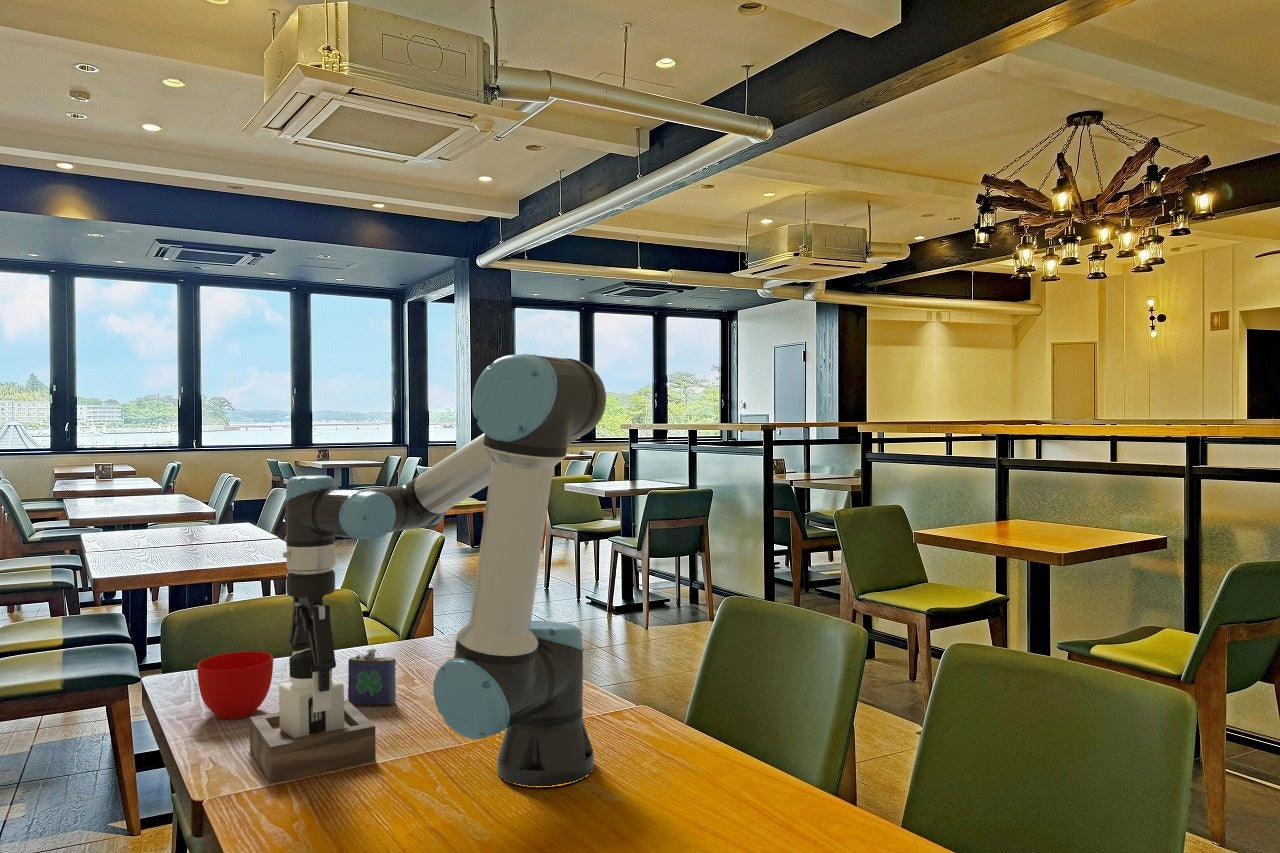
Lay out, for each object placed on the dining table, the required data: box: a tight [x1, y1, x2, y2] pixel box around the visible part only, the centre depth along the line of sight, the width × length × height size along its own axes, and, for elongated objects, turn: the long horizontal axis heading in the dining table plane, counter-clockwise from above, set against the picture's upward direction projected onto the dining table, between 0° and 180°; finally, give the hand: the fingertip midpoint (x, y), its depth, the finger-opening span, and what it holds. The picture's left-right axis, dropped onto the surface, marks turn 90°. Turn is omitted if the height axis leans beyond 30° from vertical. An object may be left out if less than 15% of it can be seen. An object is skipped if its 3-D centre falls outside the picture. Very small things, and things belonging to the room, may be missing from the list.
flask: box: [347, 648, 397, 708], centre depth 170 cm, size 9×3×11 cm, turn 88°
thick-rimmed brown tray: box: [249, 699, 377, 784], centre depth 145 cm, size 16×16×6 cm
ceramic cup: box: [196, 650, 274, 720], centre depth 166 cm, size 13×17×10 cm
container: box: [278, 648, 345, 738], centre depth 144 cm, size 8×8×13 cm
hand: (311, 699), depth 144 cm, fingers open, 13 cm apart
